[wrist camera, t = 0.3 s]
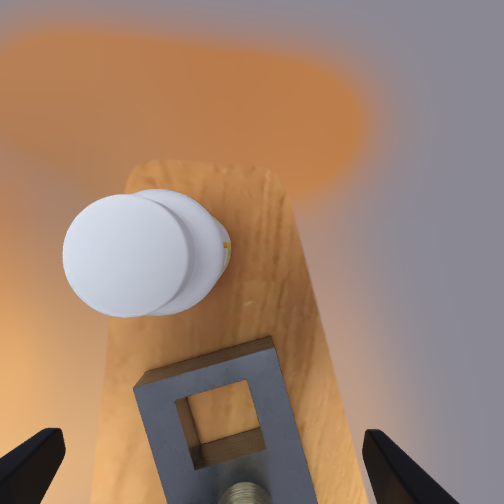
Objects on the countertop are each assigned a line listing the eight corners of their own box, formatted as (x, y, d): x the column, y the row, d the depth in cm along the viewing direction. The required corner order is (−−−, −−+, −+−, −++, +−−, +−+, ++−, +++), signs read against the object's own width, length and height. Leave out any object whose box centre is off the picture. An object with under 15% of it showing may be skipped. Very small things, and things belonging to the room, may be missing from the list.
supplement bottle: (148, 227, 21) (4, 199, 9) (217, 202, 22) (177, 138, 9) (174, 296, 22) (72, 369, 9) (242, 271, 22) (239, 308, 9)
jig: (315, 495, 23) (324, 526, 20) (193, 532, 22) (187, 568, 20) (271, 335, 22) (274, 347, 19) (145, 371, 22) (132, 388, 19)
